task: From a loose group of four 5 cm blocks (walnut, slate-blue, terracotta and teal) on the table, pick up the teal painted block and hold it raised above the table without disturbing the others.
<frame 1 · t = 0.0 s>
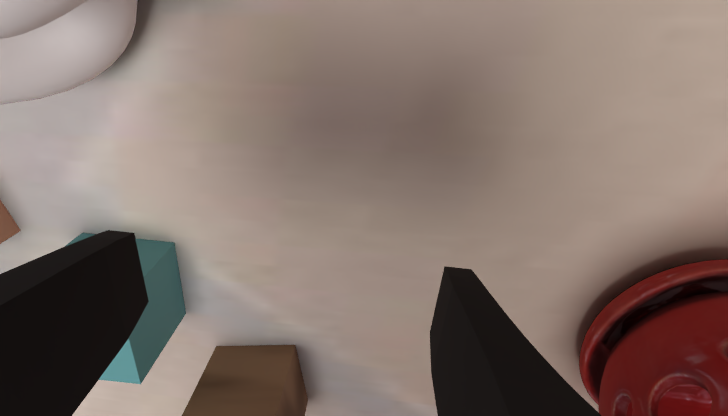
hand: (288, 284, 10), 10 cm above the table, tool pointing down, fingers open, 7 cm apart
plant pot: (670, 329, 23), on the table
teal block: (137, 274, 23), on the table
walnut block: (264, 372, 26), on the table
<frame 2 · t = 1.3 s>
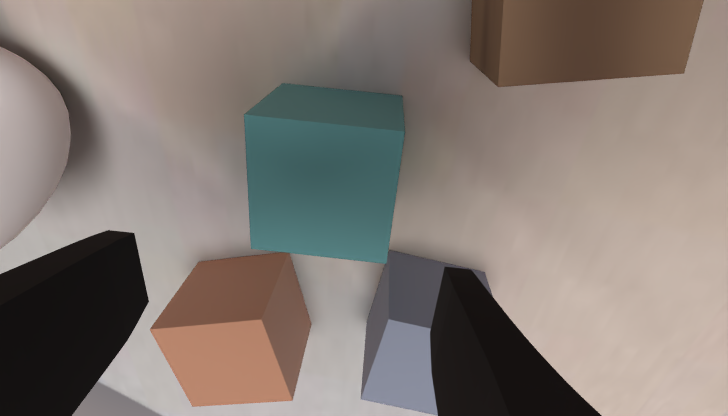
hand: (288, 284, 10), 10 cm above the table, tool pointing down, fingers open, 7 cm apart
teal block: (338, 145, 18), on the table
slate-blue block: (422, 297, 22), on the table
terracotta block: (257, 293, 22), on the table
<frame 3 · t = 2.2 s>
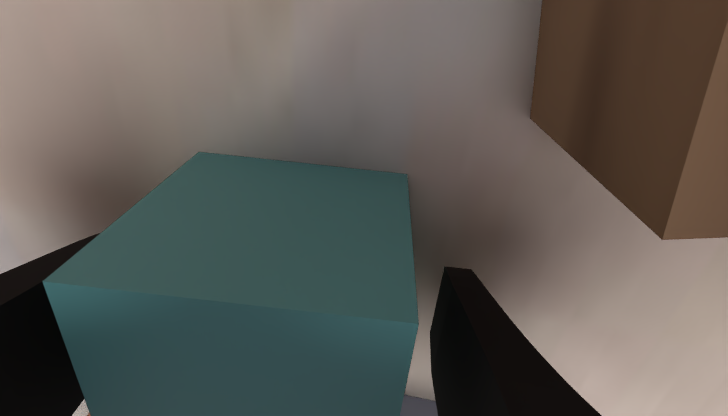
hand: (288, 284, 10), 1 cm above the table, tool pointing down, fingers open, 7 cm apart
teal block: (301, 248, 11), on the table
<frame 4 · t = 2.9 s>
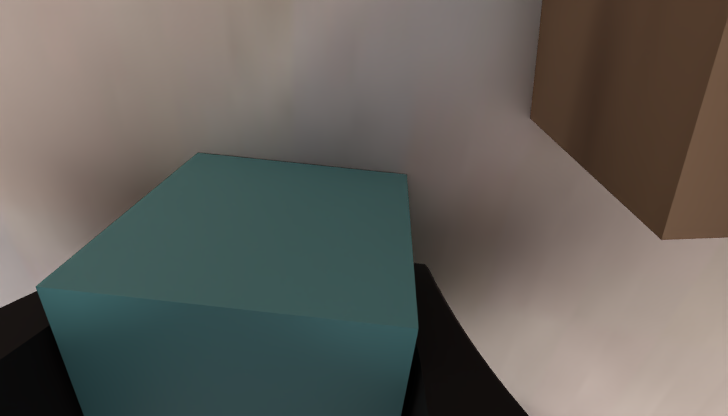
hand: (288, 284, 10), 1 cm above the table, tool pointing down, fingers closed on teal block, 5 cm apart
teal block: (300, 250, 11), on the table, touching gripper
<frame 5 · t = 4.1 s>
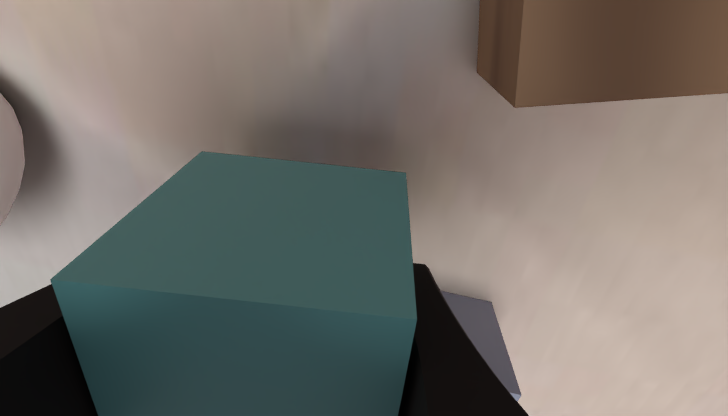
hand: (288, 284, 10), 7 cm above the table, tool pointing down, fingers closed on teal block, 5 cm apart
teal block: (302, 247, 11), point 6 cm above the table, touching gripper
slate-blue block: (423, 328, 20), on the table
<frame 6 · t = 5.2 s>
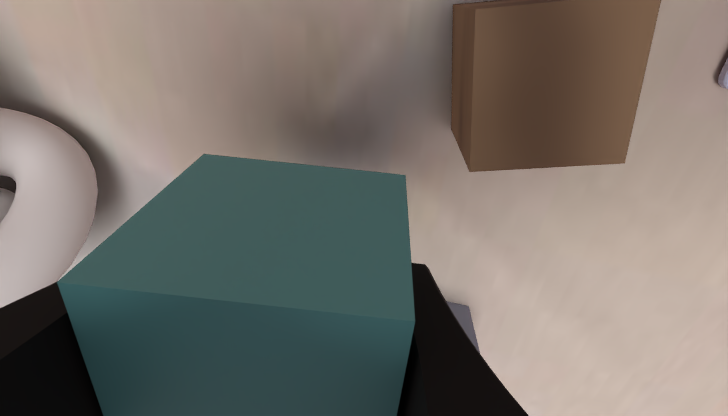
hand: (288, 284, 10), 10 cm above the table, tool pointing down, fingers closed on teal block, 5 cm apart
white knot sculpture: (23, 163, 21), on the table
teal block: (302, 248, 11), point 9 cm above the table, touching gripper
walnut block: (512, 65, 17), on the table
slate-blue block: (413, 327, 24), on the table
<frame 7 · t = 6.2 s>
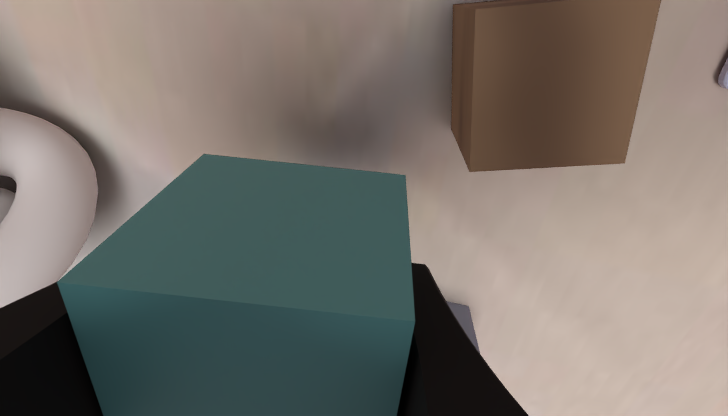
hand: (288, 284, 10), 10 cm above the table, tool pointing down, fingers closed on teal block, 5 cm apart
white knot sculpture: (23, 163, 21), on the table
teal block: (302, 248, 11), point 9 cm above the table, touching gripper
walnut block: (512, 65, 17), on the table
slate-blue block: (413, 327, 24), on the table
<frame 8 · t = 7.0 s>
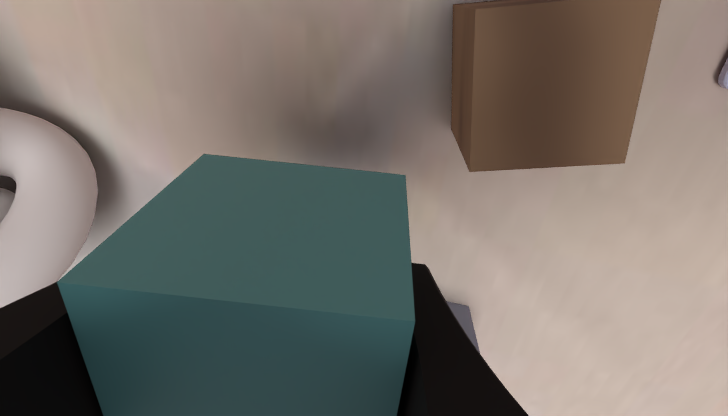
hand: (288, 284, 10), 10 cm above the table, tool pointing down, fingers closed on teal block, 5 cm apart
white knot sculpture: (23, 163, 21), on the table
teal block: (302, 248, 11), point 9 cm above the table, touching gripper
walnut block: (512, 65, 17), on the table
slate-blue block: (413, 327, 24), on the table
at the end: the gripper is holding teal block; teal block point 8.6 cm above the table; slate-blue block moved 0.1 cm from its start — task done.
